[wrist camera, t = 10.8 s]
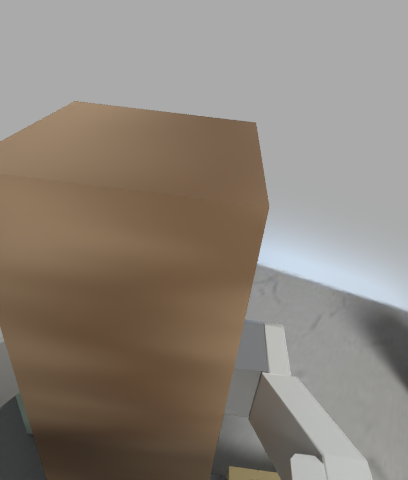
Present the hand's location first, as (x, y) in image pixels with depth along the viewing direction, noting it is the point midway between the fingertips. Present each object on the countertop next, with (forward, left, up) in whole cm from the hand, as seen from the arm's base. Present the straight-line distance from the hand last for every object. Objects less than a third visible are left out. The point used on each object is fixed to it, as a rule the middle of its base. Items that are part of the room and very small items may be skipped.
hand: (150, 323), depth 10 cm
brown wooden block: (0, -1, -7) cm, 7 cm away
